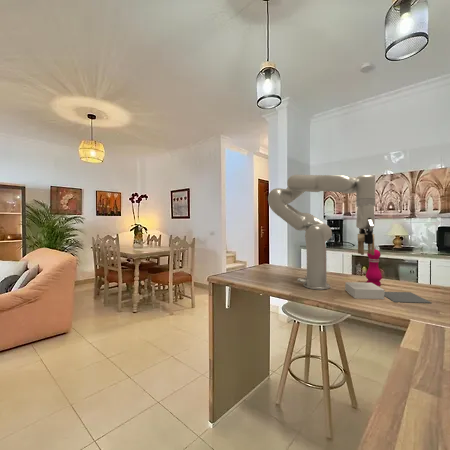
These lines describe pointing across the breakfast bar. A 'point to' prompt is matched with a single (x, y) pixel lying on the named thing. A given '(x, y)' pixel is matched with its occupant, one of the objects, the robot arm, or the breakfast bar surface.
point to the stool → (361, 245)
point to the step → (364, 290)
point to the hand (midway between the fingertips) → (365, 242)
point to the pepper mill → (374, 268)
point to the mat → (405, 297)
